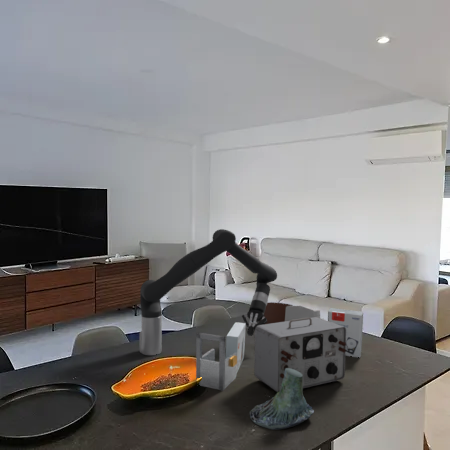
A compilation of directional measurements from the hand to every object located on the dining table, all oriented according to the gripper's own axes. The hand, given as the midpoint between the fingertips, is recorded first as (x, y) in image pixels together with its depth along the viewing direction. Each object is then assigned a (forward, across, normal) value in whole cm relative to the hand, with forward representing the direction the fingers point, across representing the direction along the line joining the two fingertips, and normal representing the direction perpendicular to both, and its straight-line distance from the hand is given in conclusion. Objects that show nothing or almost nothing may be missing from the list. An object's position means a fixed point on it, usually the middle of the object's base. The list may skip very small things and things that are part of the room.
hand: (249, 335), depth 199 cm
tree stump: (+42, +30, -30) cm, 59 cm away
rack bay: (+30, 0, -19) cm, 35 cm away
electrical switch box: (-12, +19, +24) cm, 33 cm away
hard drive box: (-7, +40, +20) cm, 45 cm away
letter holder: (-28, -3, +41) cm, 50 cm away
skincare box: (+18, 0, -6) cm, 19 cm away
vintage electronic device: (+22, +30, -9) cm, 38 cm away
